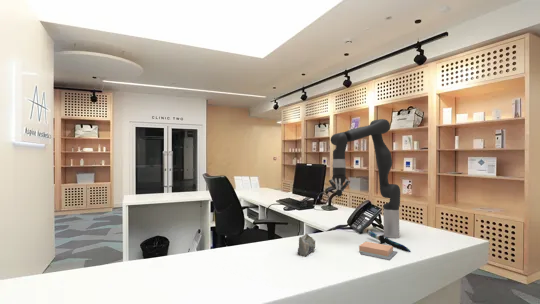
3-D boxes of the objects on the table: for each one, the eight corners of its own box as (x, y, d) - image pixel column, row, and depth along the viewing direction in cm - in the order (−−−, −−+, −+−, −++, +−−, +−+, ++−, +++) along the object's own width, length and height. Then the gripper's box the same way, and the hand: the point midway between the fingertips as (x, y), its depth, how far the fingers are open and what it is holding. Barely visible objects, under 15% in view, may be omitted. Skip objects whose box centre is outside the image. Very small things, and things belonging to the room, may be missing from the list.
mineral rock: (313, 248, 147) (313, 229, 148) (324, 254, 137) (324, 234, 138) (291, 251, 143) (291, 231, 143) (301, 257, 133) (301, 236, 133)
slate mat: (370, 247, 150) (370, 246, 150) (397, 252, 141) (397, 251, 141) (360, 254, 138) (360, 253, 138) (389, 260, 129) (389, 259, 129)
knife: (365, 236, 168) (366, 229, 168) (369, 235, 169) (370, 228, 169) (406, 257, 140) (407, 248, 140) (411, 256, 141) (411, 248, 141)
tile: (365, 241, 149) (393, 246, 140) (365, 247, 149) (393, 252, 140) (359, 245, 141) (387, 251, 133) (359, 251, 141) (387, 257, 132)
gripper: (352, 166, 160) (352, 196, 159) (331, 166, 168) (331, 195, 168) (347, 167, 154) (347, 197, 154) (326, 166, 162) (326, 196, 162)
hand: (339, 196), depth 161 cm, fingers closed
